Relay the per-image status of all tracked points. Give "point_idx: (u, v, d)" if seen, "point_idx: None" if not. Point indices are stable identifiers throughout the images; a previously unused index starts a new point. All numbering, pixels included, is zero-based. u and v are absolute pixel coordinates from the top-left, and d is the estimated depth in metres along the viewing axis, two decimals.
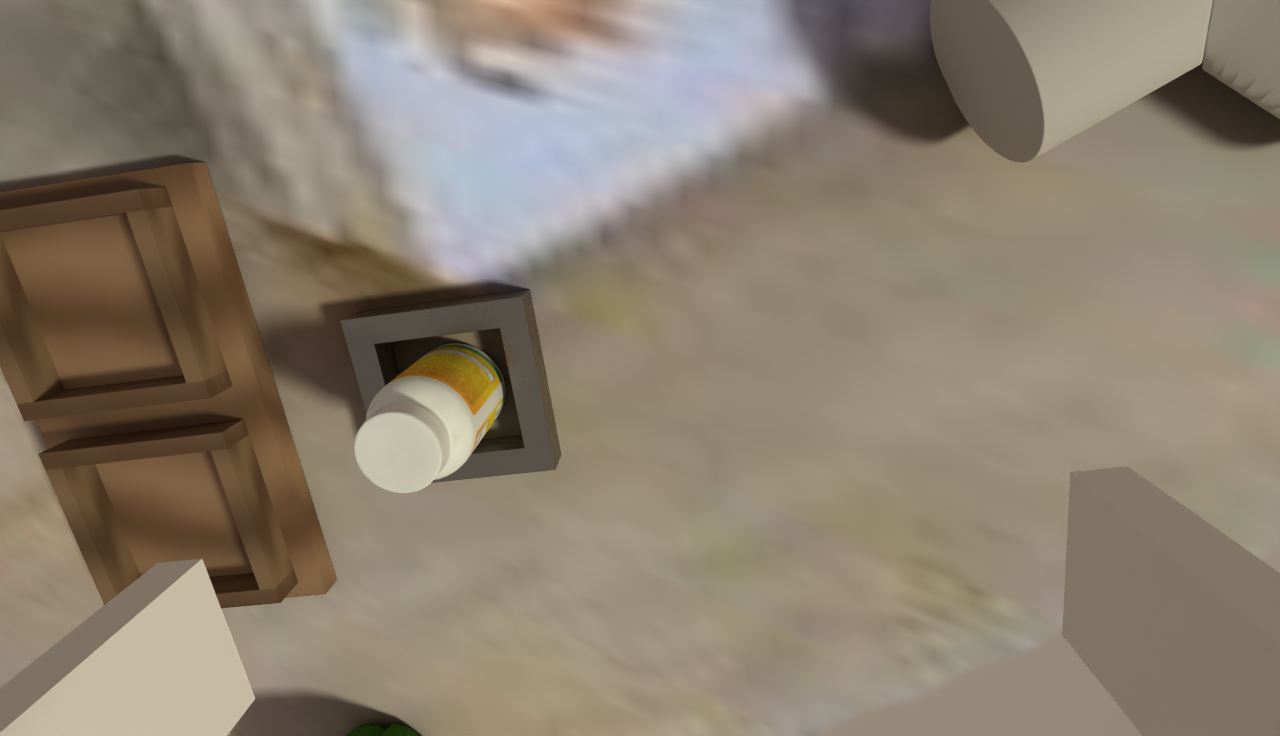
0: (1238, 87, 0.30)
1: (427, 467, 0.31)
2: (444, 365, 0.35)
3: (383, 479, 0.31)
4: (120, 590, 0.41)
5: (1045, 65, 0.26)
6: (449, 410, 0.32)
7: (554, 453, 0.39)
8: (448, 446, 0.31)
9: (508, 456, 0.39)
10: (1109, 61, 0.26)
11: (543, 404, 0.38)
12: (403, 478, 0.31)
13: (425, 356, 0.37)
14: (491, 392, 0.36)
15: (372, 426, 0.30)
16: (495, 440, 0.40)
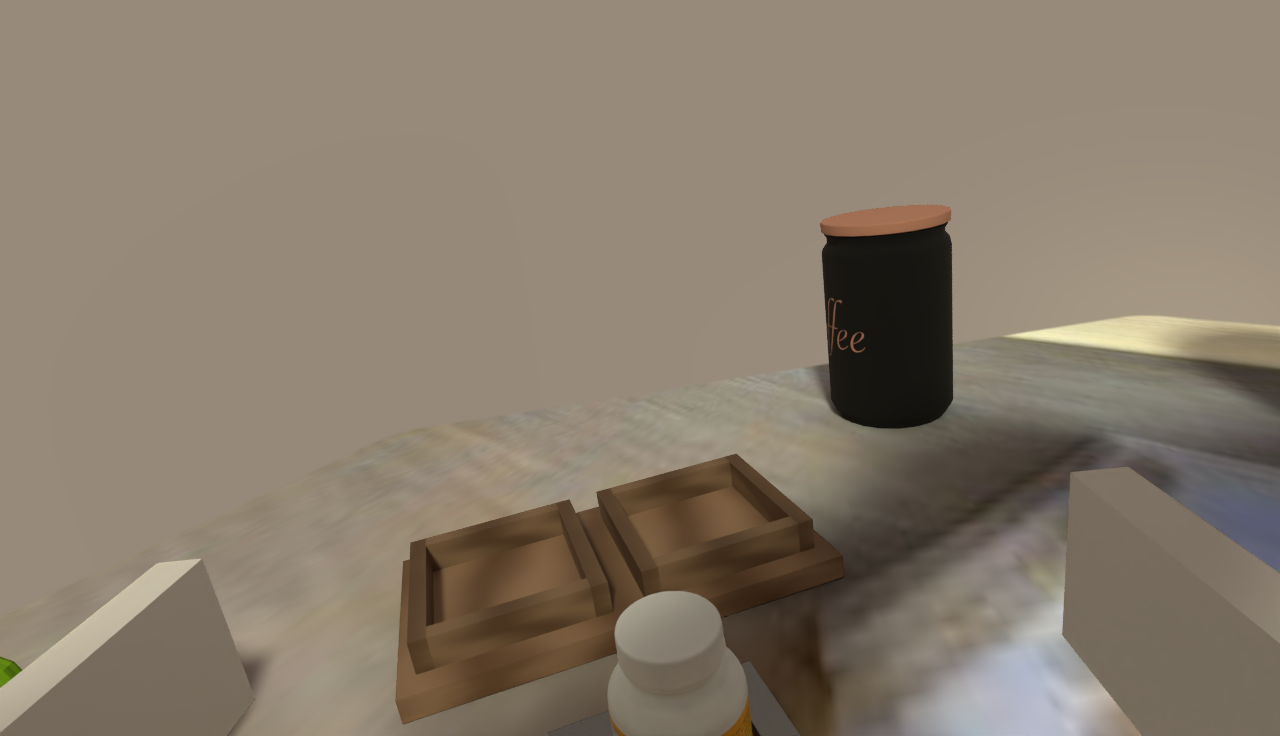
0: None
1: (656, 650, 0.24)
2: None
3: (630, 618, 0.26)
4: (436, 548, 0.46)
5: None
6: (719, 698, 0.24)
7: None
8: (681, 683, 0.24)
9: None
10: None
11: None
12: (636, 633, 0.25)
13: None
14: None
15: (694, 600, 0.26)
16: None
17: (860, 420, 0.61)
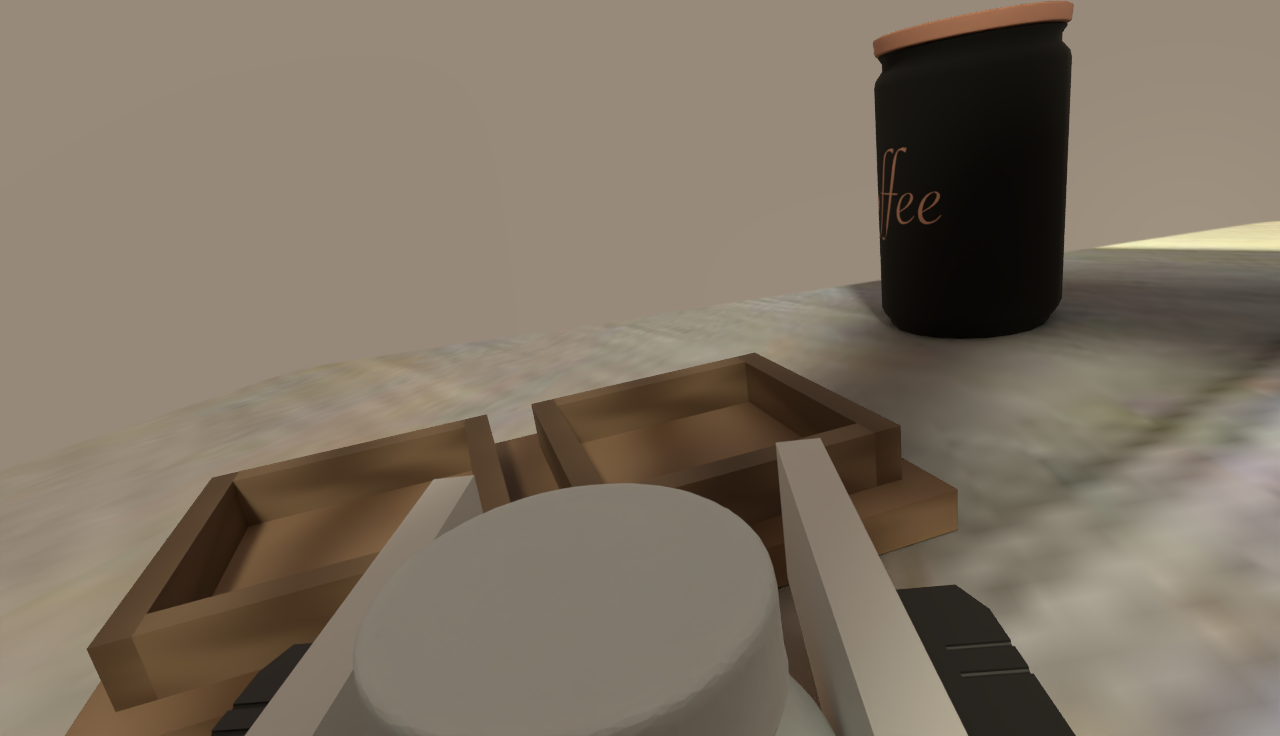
0: None
1: (494, 687, 0.05)
2: None
3: (442, 561, 0.07)
4: (252, 485, 0.27)
5: None
6: None
7: None
8: None
9: None
10: None
11: None
12: (439, 615, 0.06)
13: None
14: None
15: (673, 504, 0.08)
16: None
17: (928, 328, 0.43)
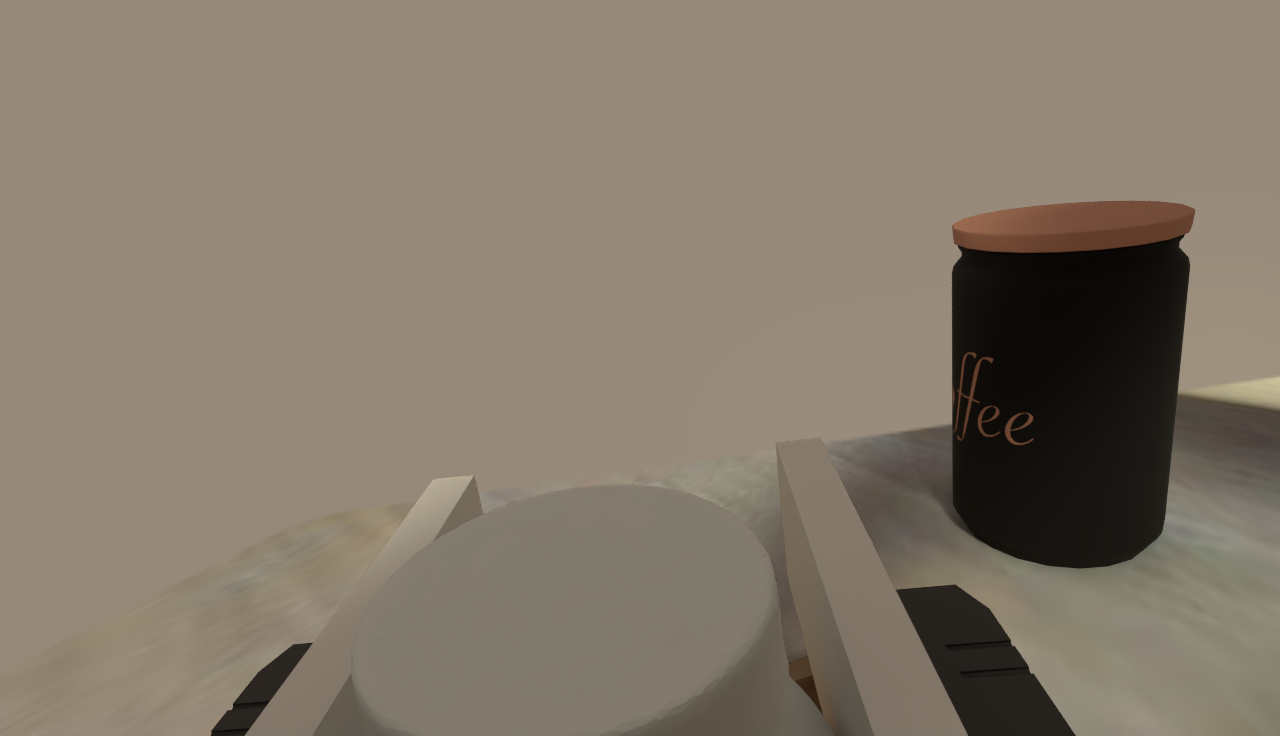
0: None
1: (492, 692, 0.05)
2: None
3: (440, 563, 0.07)
4: None
5: None
6: None
7: None
8: None
9: None
10: None
11: None
12: (437, 617, 0.06)
13: None
14: None
15: (673, 505, 0.08)
16: None
17: (1012, 550, 0.38)
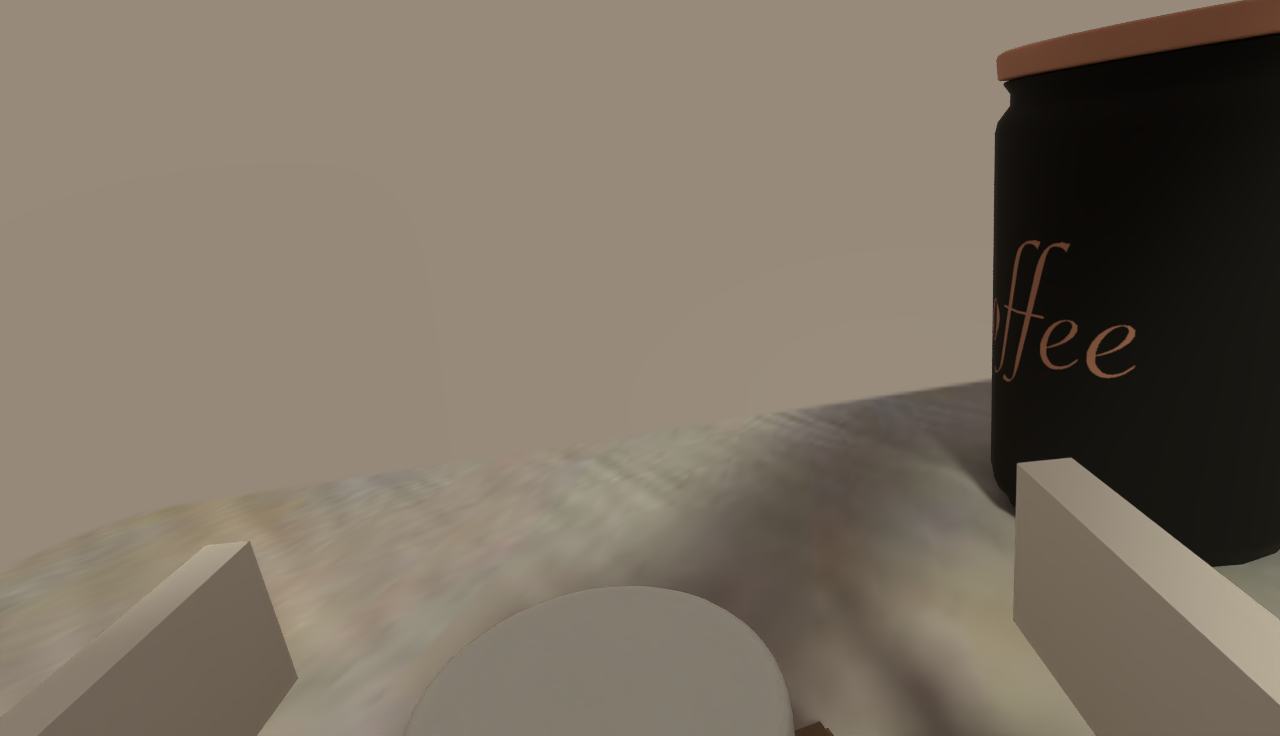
0: None
1: None
2: None
3: (473, 675, 0.08)
4: None
5: None
6: None
7: None
8: None
9: None
10: None
11: None
12: None
13: None
14: None
15: (691, 615, 0.08)
16: None
17: None
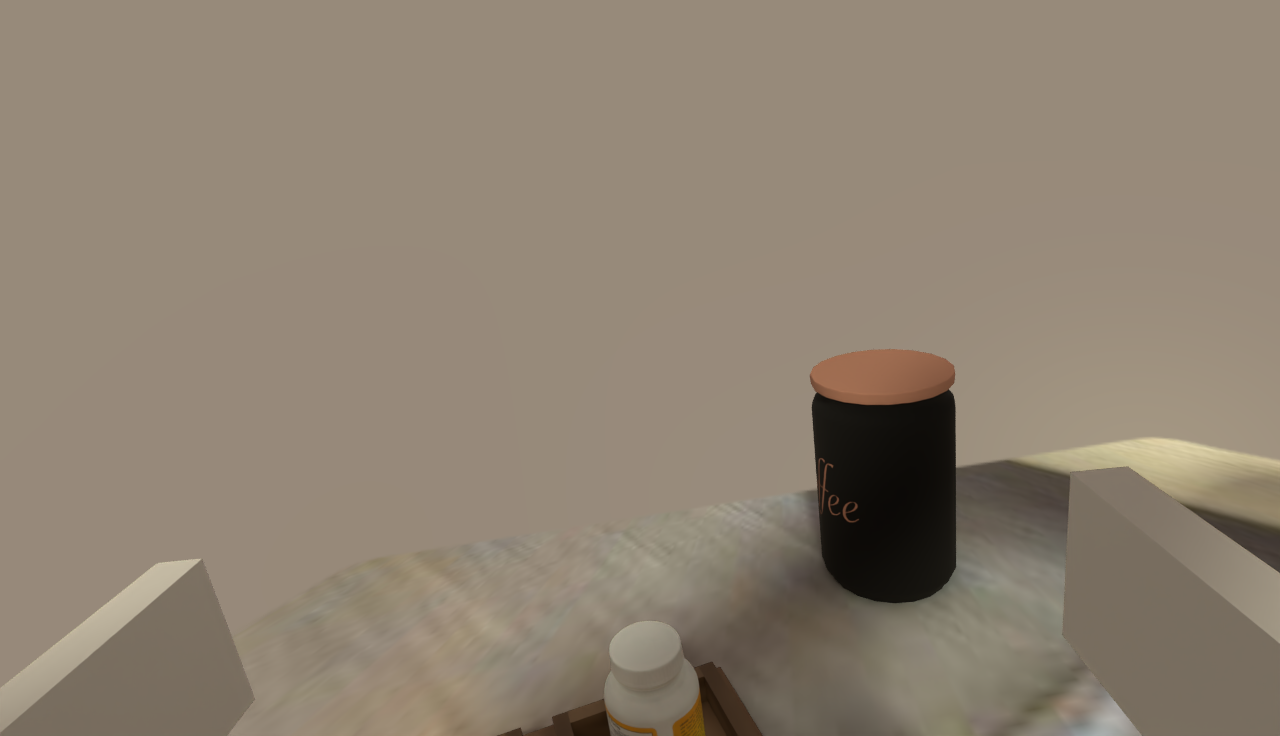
0: None
1: (636, 662, 0.36)
2: (702, 717, 0.39)
3: (619, 640, 0.38)
4: None
5: None
6: (678, 694, 0.36)
7: None
8: (652, 684, 0.36)
9: None
10: None
11: None
12: (623, 651, 0.37)
13: None
14: None
15: (663, 627, 0.38)
16: None
17: (853, 590, 0.55)
